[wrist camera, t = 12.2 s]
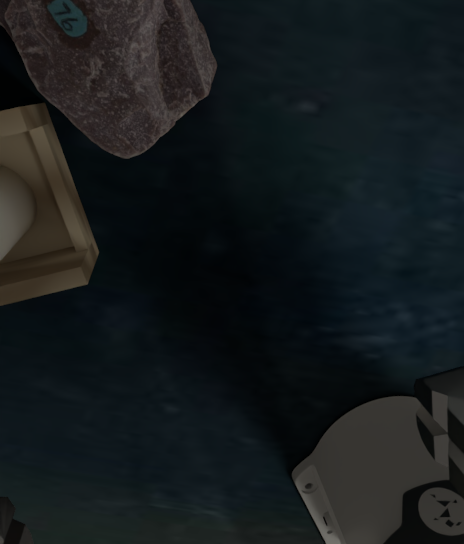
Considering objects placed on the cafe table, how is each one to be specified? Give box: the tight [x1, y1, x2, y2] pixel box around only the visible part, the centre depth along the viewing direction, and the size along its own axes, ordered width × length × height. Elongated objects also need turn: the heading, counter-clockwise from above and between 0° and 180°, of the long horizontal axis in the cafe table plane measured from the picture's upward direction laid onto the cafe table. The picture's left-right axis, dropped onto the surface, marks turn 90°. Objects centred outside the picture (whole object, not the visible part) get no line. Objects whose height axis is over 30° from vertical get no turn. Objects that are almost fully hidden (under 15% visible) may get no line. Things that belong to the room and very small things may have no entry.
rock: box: [0, 0, 217, 159], centre depth 24 cm, size 9×13×5 cm
